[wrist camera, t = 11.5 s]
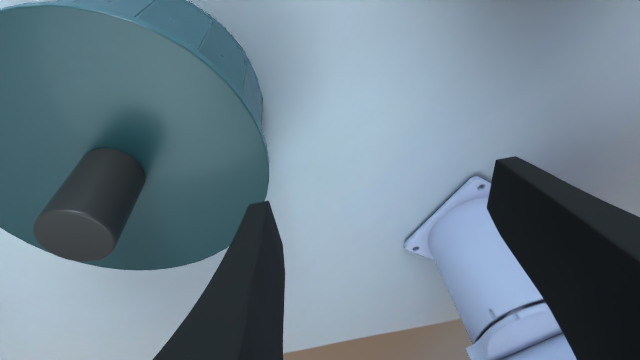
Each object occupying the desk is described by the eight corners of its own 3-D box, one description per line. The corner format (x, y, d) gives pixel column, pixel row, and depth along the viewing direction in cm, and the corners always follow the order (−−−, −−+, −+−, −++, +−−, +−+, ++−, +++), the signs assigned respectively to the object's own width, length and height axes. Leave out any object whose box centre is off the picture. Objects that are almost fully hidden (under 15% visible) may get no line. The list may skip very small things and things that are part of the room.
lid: (321, 104, 15) (337, 171, 11) (209, 277, 21) (195, 359, 17) (-59, -95, 10) (-258, -93, 6) (-62, 206, 16) (-163, 298, 12)
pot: (298, 63, 19) (306, 115, 14) (216, 207, 24) (203, 278, 20) (53, -75, 14) (-51, -64, 10) (20, 139, 20) (-57, 211, 15)
